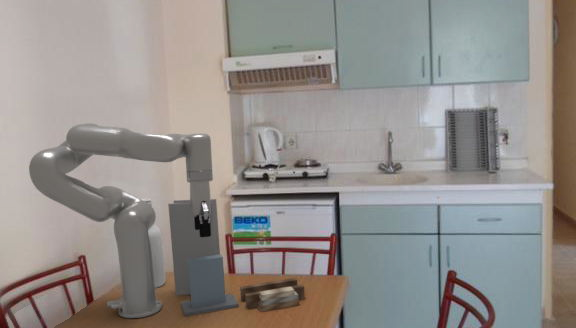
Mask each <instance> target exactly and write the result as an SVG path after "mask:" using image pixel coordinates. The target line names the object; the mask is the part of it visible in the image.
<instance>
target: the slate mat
mask: <svg viewBox="0 0 576 328" xmlns="http://www.w3.org/2000/svg"><path fill="white" fill-rule="evenodd" d="M225 297H226V302H222V303H217V304H211V305H205V306H199V307H194V308H193V307H192V305H191V300H186V301H185V300H184V301H180V306H181V309H182V311H183V315H184V317H188V316H194V315H195V316H196V315H200V314H205V313H212V312H219V311H222V310H223V311H224V310H228V309H233V308H239V307H240V305H239V302H238V300H237V299H236V298H235V296H234V294H233V293H229V294H225Z"/></svg>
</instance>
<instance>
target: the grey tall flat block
mask: <svg viewBox="0 0 576 328" xmlns="http://www.w3.org/2000/svg"><path fill="white" fill-rule="evenodd" d="M210 200H211V214H210V215H209V218H210V224H211V236H210V237H200V232H199V230H195V222H194V217H195V216H194V215H193V214H192V212H191V210H190V199H184V200H183V199H180V200H179V199H177V200H173V202H171V203H168V214H169V215H168V216H169V217H168V218H169V228H170V240H171V252H172V262H173V265H172V266H173V279H174V290H175V295H176V296H186V295H187V296H189V295H190V282H189V269H188V259H193V258H199V257H206V256H213V255H220V254H221V248H220V236H219V234H220V233H219V222H218V207H217V204H218V203H217V198H212V199H211V198H210ZM196 217H197V216H196ZM190 296H191V295H190Z"/></svg>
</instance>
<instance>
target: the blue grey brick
mask: <svg viewBox="0 0 576 328" xmlns="http://www.w3.org/2000/svg"><path fill="white" fill-rule="evenodd" d="M188 269H189V282H190V301H191V305H192V307H193V308H194V307H199V306H205V305H211V304H217V303H222V302H226V297H225V295H226V285H225V284H226V283H225V271H224V257H223V255H222V254H221V253H220V255H213V256H206V257H199V258H193V259H188Z"/></svg>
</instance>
